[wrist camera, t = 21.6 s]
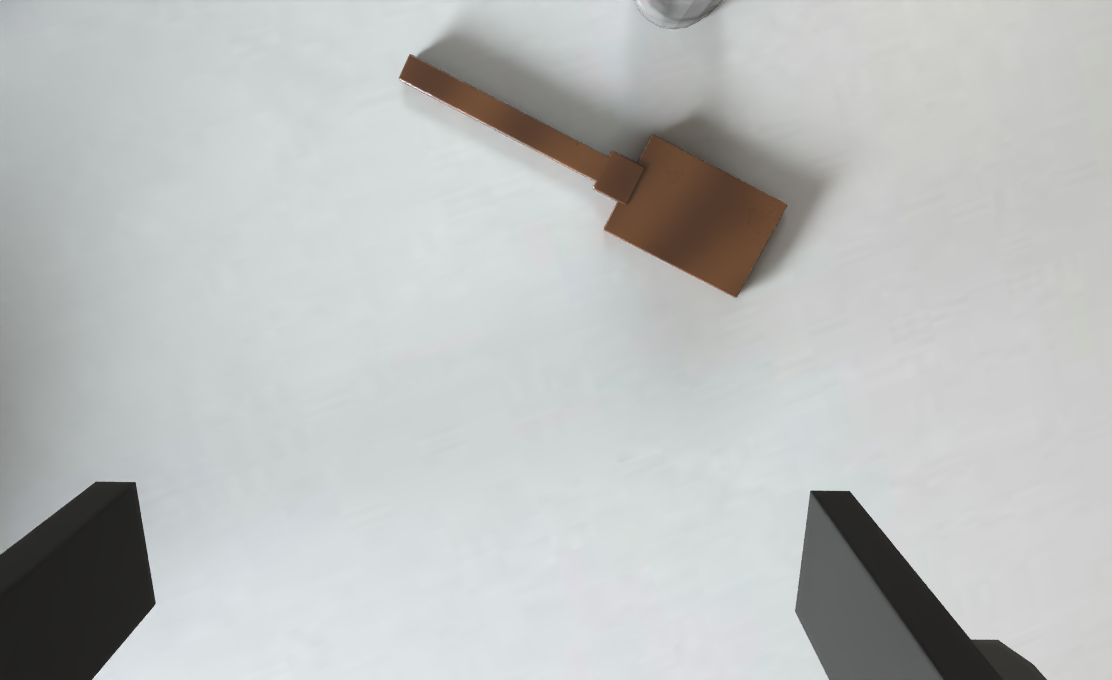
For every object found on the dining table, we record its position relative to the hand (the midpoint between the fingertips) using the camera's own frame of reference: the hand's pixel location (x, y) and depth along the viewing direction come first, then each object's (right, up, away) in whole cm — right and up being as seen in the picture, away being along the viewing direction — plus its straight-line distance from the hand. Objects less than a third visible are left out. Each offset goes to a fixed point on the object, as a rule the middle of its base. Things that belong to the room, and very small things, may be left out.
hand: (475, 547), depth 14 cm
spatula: (+3, +14, +24) cm, 28 cm away
